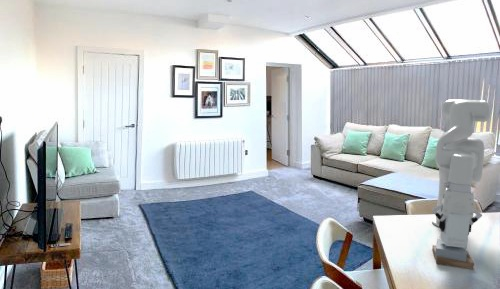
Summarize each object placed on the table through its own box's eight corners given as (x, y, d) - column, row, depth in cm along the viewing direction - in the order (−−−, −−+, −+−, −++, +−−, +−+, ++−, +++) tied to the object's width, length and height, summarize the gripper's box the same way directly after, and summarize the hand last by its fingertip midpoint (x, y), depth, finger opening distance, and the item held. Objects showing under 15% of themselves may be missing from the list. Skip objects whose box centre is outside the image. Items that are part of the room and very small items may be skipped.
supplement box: (467, 248, 135) (471, 215, 133) (445, 246, 136) (449, 213, 134) (460, 239, 142) (463, 208, 140) (439, 238, 143) (442, 207, 141)
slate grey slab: (436, 245, 147) (437, 238, 146) (465, 251, 142) (466, 244, 141) (435, 255, 138) (436, 248, 137) (465, 261, 133) (466, 254, 133)
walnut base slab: (432, 252, 148) (432, 245, 147) (465, 256, 144) (466, 249, 143) (436, 265, 136) (437, 258, 136) (473, 271, 133) (474, 263, 132)
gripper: (434, 187, 135) (430, 232, 138) (489, 192, 129) (483, 239, 132) (431, 182, 142) (427, 225, 145) (483, 186, 136) (477, 231, 139)
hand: (454, 231), depth 138 cm, fingers closed on supplement box, 7 cm apart
